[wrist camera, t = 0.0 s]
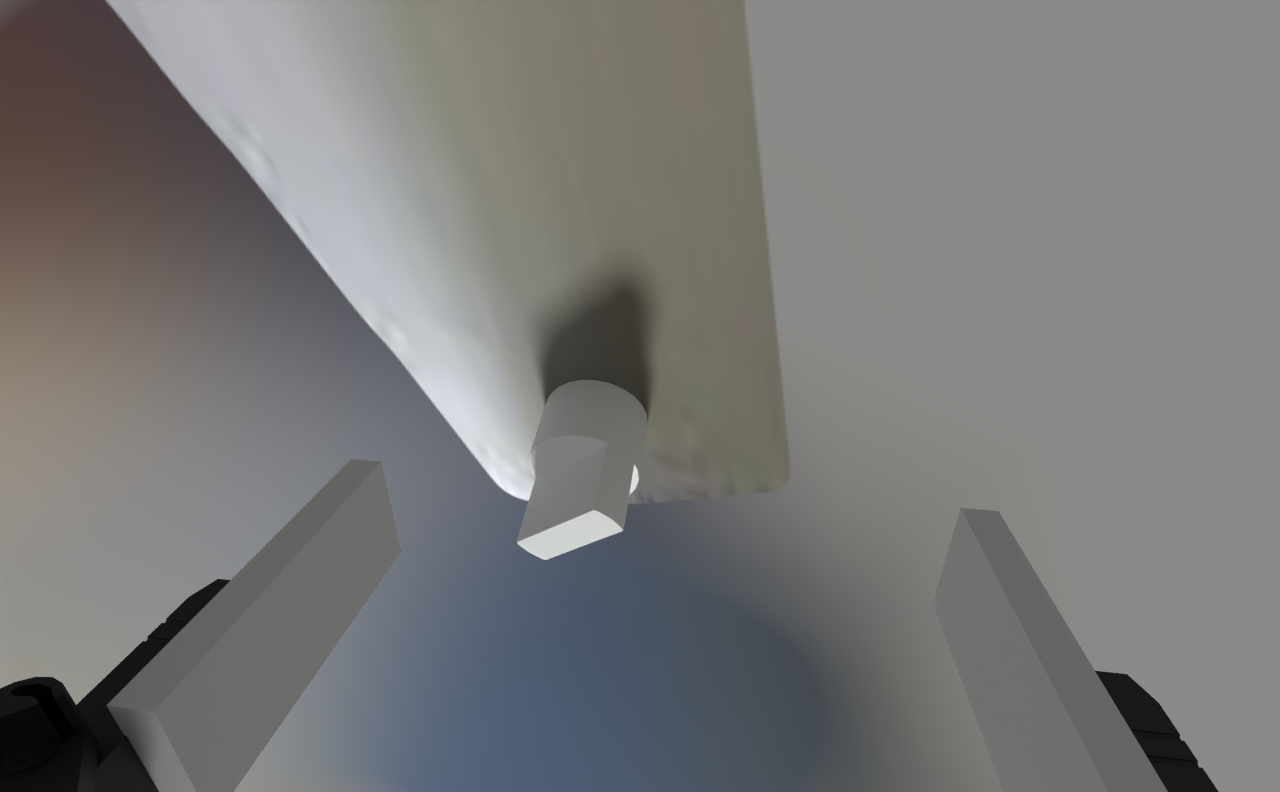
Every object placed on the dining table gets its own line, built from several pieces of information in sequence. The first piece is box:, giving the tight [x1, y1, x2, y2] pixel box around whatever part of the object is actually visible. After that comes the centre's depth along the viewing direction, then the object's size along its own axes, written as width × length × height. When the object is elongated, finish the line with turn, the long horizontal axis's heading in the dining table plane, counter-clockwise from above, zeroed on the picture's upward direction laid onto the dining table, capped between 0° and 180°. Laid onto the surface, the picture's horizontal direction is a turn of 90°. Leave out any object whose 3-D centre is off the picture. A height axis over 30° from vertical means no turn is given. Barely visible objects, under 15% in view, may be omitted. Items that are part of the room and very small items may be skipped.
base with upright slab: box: [517, 380, 648, 560], centre depth 50 cm, size 9×9×12 cm
